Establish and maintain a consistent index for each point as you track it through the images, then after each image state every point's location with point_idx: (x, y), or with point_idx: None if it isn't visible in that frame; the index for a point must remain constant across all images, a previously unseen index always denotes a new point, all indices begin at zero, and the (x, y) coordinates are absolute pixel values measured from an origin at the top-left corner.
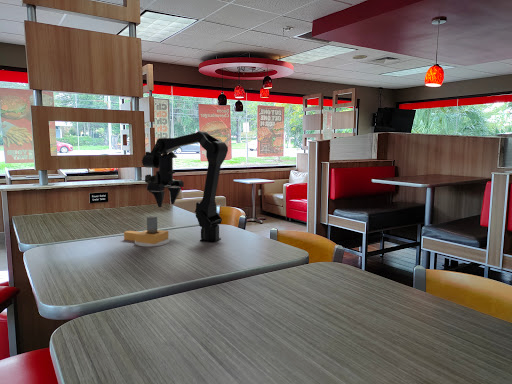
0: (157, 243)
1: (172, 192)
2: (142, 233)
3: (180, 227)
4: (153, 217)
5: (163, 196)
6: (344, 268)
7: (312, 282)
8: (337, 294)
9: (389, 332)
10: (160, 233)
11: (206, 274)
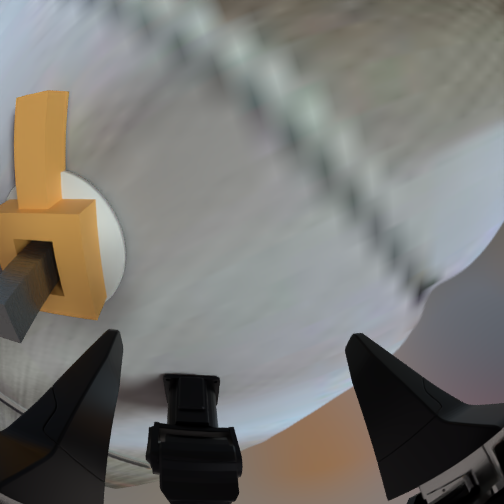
0: None
1: (412, 435)
2: (5, 237)
3: (373, 219)
4: (2, 330)
5: (98, 472)
6: (153, 477)
7: None
8: None
9: None
10: (49, 308)
11: (23, 405)
